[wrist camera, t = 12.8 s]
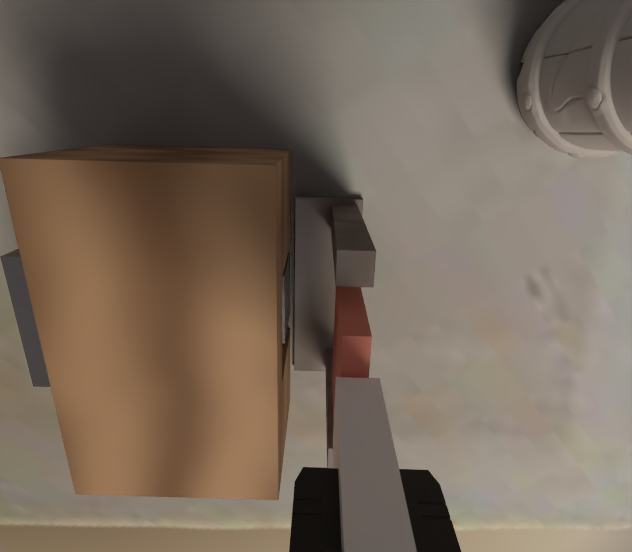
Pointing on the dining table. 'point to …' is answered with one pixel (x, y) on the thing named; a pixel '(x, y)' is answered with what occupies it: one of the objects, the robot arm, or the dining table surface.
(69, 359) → the block
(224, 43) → the dining table surface
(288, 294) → the dark grey block
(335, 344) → the block
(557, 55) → the mug
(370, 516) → the robot arm
